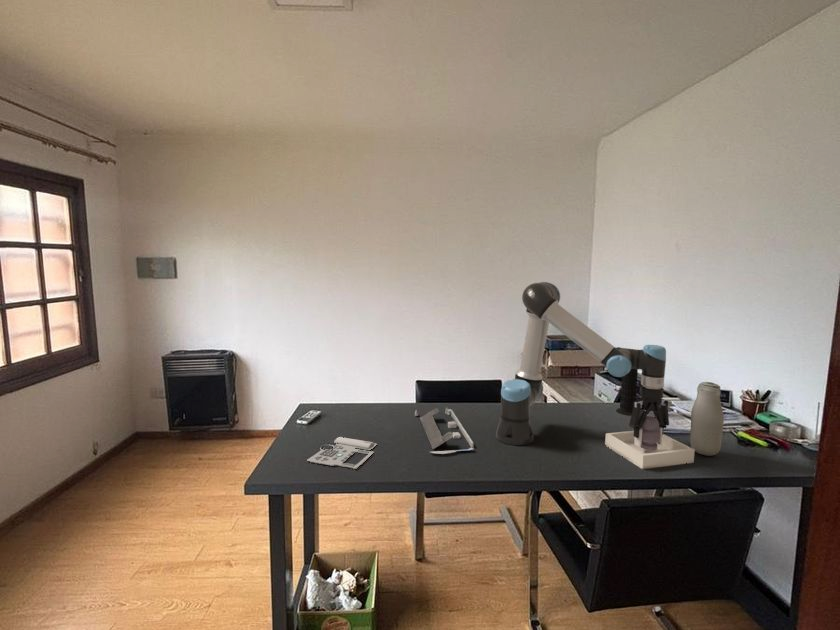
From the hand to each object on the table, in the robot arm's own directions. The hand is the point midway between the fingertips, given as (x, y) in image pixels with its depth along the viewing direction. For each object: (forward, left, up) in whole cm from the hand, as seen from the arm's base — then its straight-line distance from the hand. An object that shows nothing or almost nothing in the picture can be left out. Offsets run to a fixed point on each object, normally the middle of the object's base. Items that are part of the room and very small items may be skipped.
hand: (647, 444), depth 159 cm
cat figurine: (0, 0, -1) cm, 1 cm away
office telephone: (-112, +26, -5) cm, 115 cm away
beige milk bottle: (+21, -5, -4) cm, 22 cm away
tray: (0, 0, -4) cm, 4 cm away
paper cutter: (-70, +37, -4) cm, 80 cm away
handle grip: (+25, +41, -4) cm, 48 cm away
